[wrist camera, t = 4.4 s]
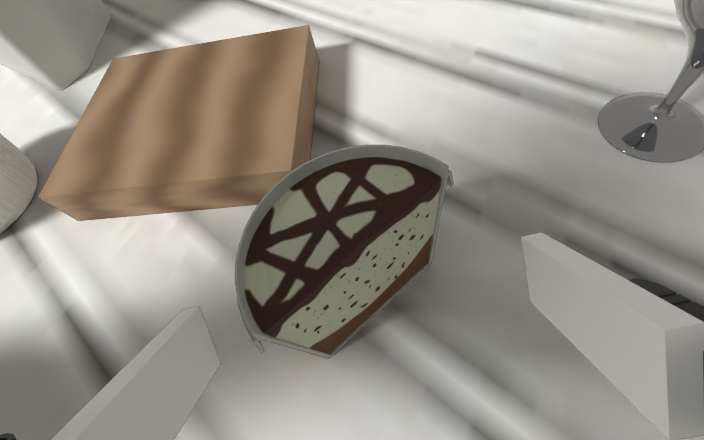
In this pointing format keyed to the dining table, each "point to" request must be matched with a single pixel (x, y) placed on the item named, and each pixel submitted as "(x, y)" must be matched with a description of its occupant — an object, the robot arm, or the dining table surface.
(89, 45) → the white triangular vase
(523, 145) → the dining table surface
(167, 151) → the walnut stand
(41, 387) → the dining table surface
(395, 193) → the food container
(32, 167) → the ramekin
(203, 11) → the dining table surface
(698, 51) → the wine glass
